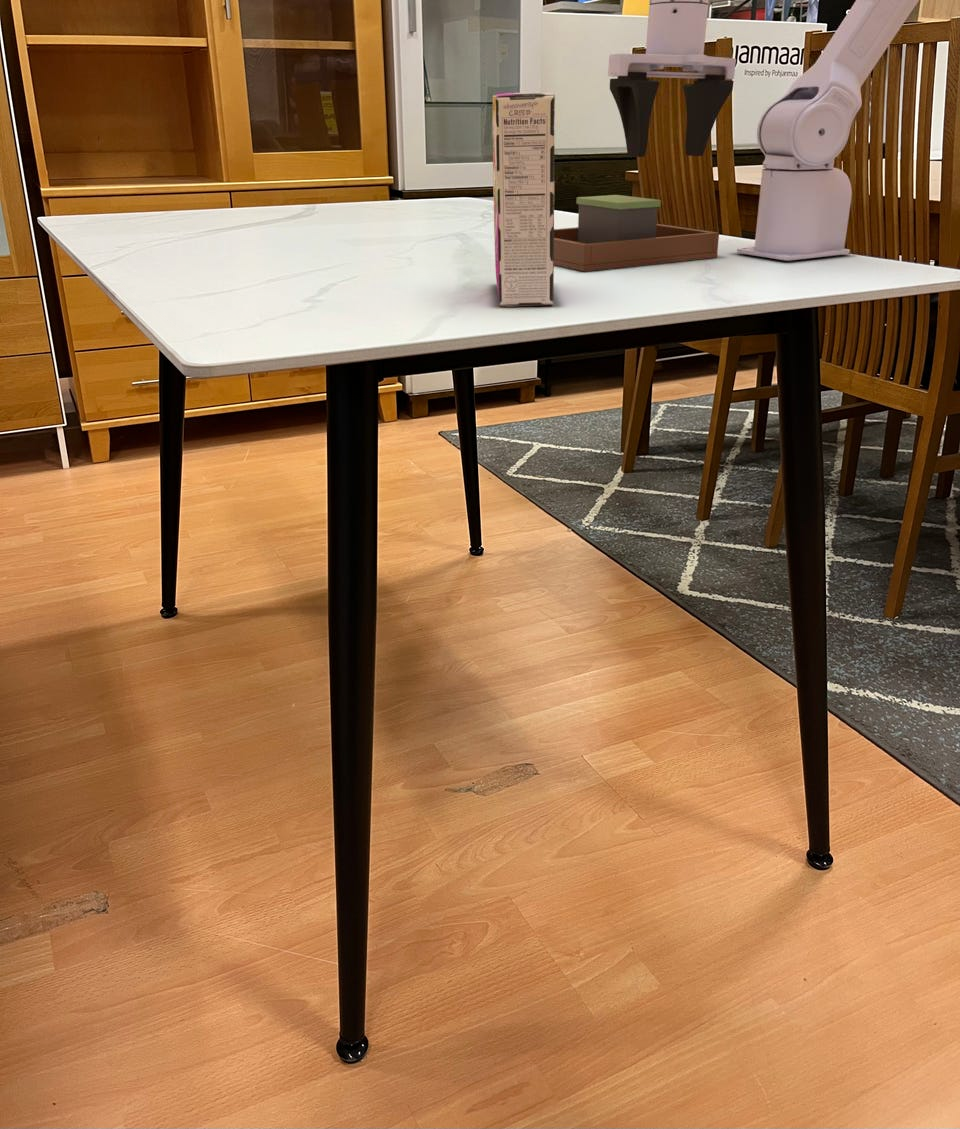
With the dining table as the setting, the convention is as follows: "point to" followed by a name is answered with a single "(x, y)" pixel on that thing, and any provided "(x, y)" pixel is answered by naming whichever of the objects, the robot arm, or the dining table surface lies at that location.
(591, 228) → the container
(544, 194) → the candy bar box
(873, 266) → the dining table surface
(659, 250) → the tray
